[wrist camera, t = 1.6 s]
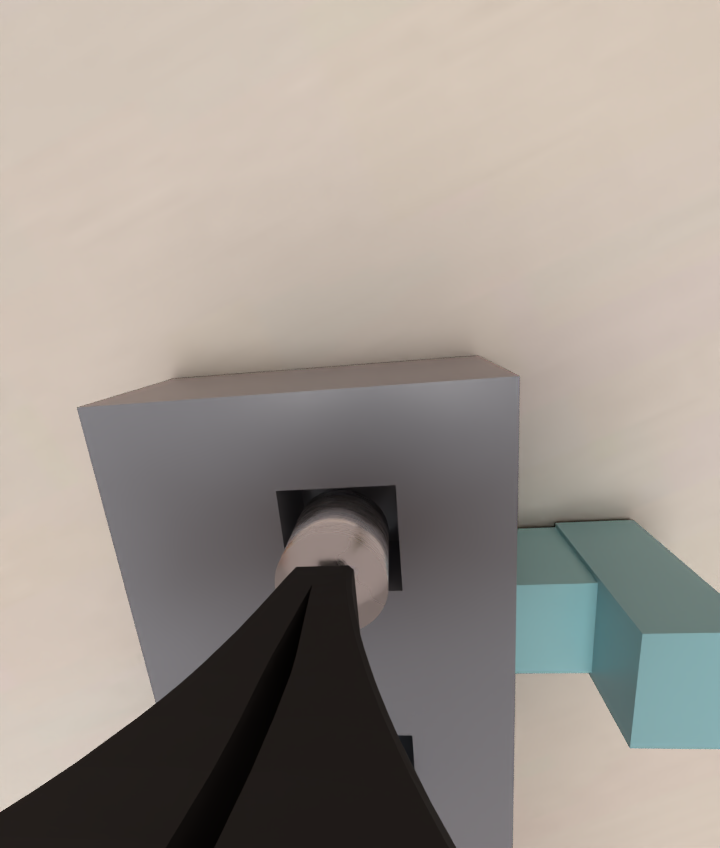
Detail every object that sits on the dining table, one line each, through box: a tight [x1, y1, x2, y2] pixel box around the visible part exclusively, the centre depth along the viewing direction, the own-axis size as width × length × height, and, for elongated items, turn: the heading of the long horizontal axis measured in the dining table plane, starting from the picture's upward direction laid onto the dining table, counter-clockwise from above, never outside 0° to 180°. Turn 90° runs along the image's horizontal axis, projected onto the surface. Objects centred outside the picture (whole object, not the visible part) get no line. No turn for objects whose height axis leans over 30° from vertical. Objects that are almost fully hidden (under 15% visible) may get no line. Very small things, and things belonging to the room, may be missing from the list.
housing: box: [77, 355, 520, 848], centre depth 16 cm, size 18×12×5 cm, turn 5°
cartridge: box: [515, 520, 720, 749], centre depth 15 cm, size 4×15×6 cm, turn 95°
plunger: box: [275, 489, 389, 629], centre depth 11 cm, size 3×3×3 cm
